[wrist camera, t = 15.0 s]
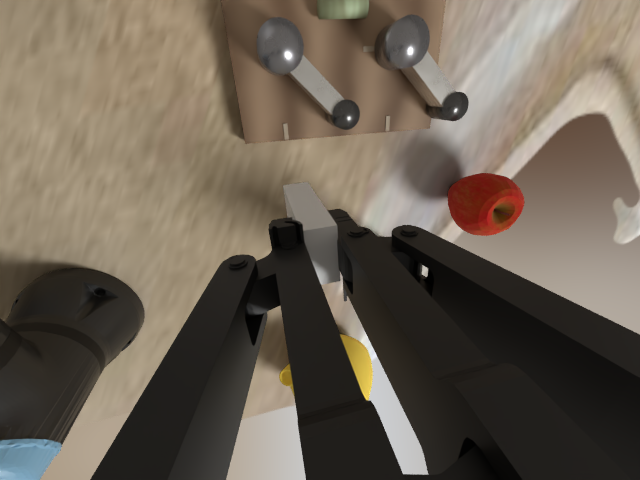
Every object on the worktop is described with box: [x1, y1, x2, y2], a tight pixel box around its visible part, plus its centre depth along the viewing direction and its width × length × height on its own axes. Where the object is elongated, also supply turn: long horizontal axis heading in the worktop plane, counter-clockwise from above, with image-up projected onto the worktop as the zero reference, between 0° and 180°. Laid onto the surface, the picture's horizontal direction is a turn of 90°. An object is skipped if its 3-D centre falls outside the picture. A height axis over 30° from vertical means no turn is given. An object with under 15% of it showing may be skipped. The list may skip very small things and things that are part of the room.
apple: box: [448, 173, 524, 236], centre depth 40 cm, size 9×8×11 cm
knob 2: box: [374, 14, 468, 121], centre depth 32 cm, size 13×4×4 cm, turn 48°
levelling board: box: [221, 0, 446, 144], centre depth 32 cm, size 24×14×4 cm, turn 92°
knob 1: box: [257, 17, 360, 130], centre depth 30 cm, size 13×4×4 cm, turn 48°
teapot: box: [279, 334, 373, 400], centre depth 49 cm, size 20×16×14 cm
